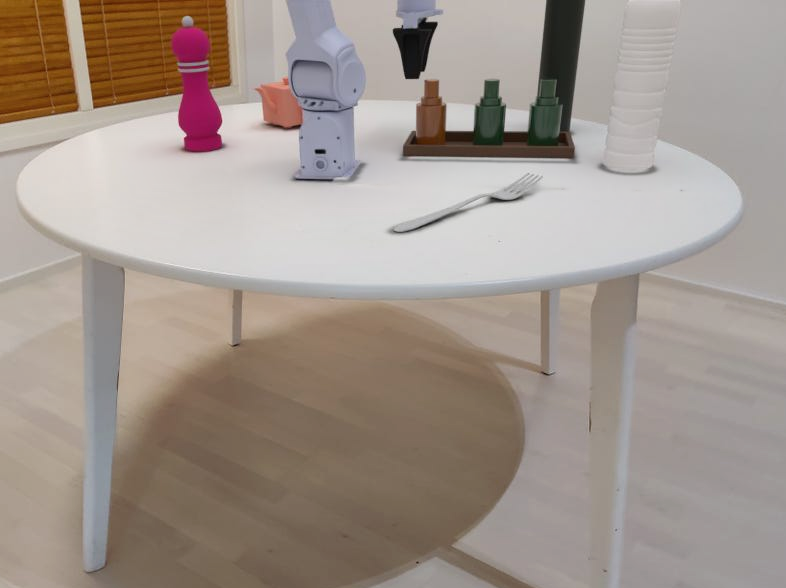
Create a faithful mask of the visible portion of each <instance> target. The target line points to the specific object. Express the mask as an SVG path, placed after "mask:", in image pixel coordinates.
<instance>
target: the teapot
mask: <svg viewBox="0 0 786 588" xmlns="http://www.w3.org/2000/svg"><path fill="white" fill-rule="evenodd" d="M252 90H254V91H256V92H258V94H259V96H260V99H261V106H262V116H263V121H264V122H268V123H271V124H272V126H281V127H283V128H282V129H292V128H293V126H298V125H300V126H301V125H302V124H303V113H302V108H303V107H301V106H298V99H297V98H296V97H295V96H294V95H293V94H292V92H291V90H290V87H289V82H288V76H284V77H282V81H277V82H269V83H262V84H260V87H253V88H252Z"/></svg>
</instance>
